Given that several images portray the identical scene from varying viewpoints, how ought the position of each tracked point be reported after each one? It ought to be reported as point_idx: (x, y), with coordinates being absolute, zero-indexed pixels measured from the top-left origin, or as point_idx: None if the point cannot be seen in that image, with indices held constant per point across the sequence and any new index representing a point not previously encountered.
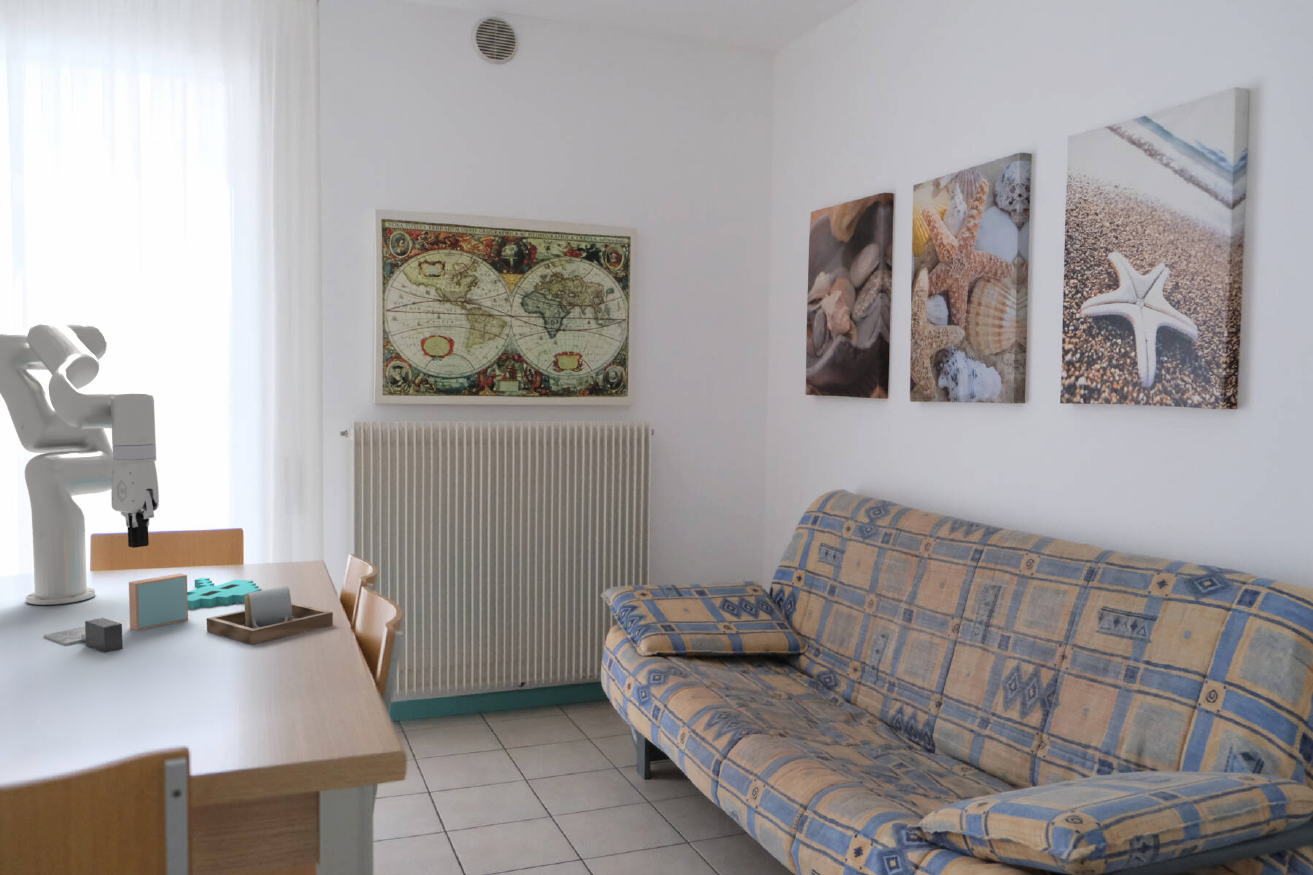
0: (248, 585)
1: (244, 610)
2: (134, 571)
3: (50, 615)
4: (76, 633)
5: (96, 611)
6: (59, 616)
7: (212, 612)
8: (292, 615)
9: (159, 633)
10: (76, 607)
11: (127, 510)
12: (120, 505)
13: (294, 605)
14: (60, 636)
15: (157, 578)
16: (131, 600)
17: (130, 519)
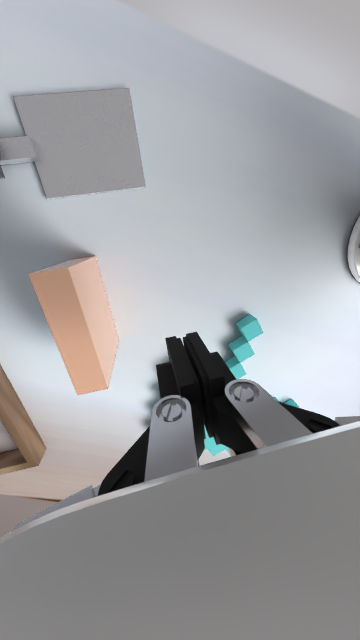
0: (207, 447)
1: (4, 412)
2: None
3: (298, 178)
4: (95, 152)
5: (262, 252)
6: (278, 189)
7: (122, 380)
8: (17, 450)
9: (20, 282)
10: (316, 236)
11: (130, 503)
12: (345, 515)
13: (2, 467)
14: (88, 112)
15: (74, 337)
16: (70, 263)
17: (243, 424)
